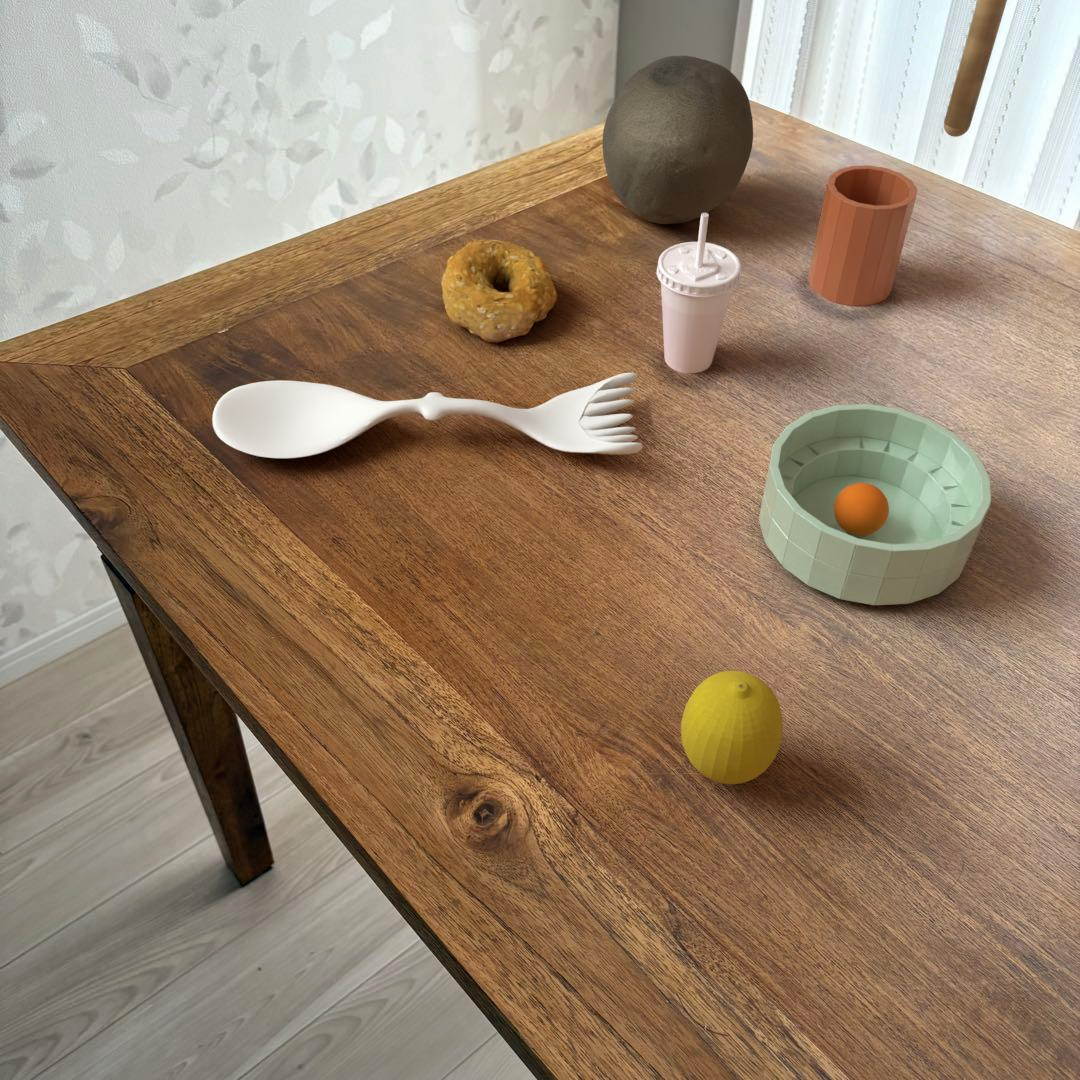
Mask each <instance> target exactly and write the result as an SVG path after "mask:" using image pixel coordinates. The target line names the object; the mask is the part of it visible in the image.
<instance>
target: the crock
mask: <svg viewBox="0 0 1080 1080" xmlns="http://www.w3.org/2000/svg"><path fill="white" fill-rule="evenodd" d="M917 194H918V188H917V187H916V185H915V183H914V181H913V180H911V178H909V177H907V176H906V175H905V174H903V173H901V172H898V171H895V170H893V169H891V168H887V167H882V166H875V165H868V164H866V165H865V164H864V165H850V166H846V167H843V168H840V169H839V168H838V169H837V170H835V171H834V172H833V173H831V174H830V175H829V176H828V180H827V183H826V186H825V192H824V196H823V200H822V201H823V202H822V206H821V207H822V208H821V213H820V216H819V220H818V221H819V222H818V227H817V231H816V236H815V241H814V246H813V251H812V256H811V260H810V261H811V262H810V266H809V270H808V277H807V280H808V285H809V286H810V288H811V290H812V291H813V292H814V293H815V294H817V295H818V296H819V297H821V298H822V299H824V300H826V301H828V302H831V303H833V304H838V305H841V306H847V307H848V306H849V307H868V306H873V305H877V304H880V303H881V302H882V301H885V300H886V299H887V298H888V297H889V296H890V294H891V293H892V289H893V285H894V282H895V278H896V275H897V271H898V267H899V263H900V259H901V256H902V252H903V248H904V244H905V241H906V237H907V233H908V228H909V225H910V222H911V217H912V214H913V211H914V207H915V203H916V200H917Z"/></svg>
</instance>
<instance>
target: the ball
mask: <svg viewBox="0 0 1080 1080" xmlns="http://www.w3.org/2000/svg"><path fill="white" fill-rule="evenodd" d="M888 513H889V505H888V501H887V498H886V496H885V495H884V493H883V492H882V491H881V490H880V489H879V488H877V487H875V486H873V485H871V484H867V483H856V484H852V485H850V486H848V487H846V488H845V489H843V490H842V491H841V492H840V494H839V495H838V497H837V498H836V501H835V504H834V515H835V518H836V520H837V522H838V524H839V525H840V527H841V528H842V529H844V530H845V531H846V532H848V533H850V534H853V535H858V536H864V535H869V534H872V533H874V532H876V531H877V530H879V529H880V528H881V527H882V526H883V525H884V523H885V522H886V520H887V517H888Z"/></svg>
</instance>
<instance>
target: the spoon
mask: <svg viewBox="0 0 1080 1080" xmlns="http://www.w3.org/2000/svg"><path fill="white" fill-rule="evenodd" d="M638 378H639V375H638V374H637V373H635V372H624V373H623V372H622V373H619V374H616V375H614V376H610V377H608V378H605V379H603V380H600V381H598V382H595V383H593V384H590V385H586V386H584V387H580V388H577V389H573V390H569V391H567V392H564V393H561V394H559V395H557V396H555V397H553V398H551V399H549V400H548V401H547V400H546V402H543V403H542V404H540V405H538V406H535V407H530V408H518V407H511V406H508V405H504V404H500V403H497V402H492V401H488V400H482V399H475V398H454V397H448V396H445V395H443V394H442V393H441V392H438V391H432V392H431V391H430V392H428V393H426V395H425V396H423V397H419V398H413V399H401V400H400V399H399V400H379V399H375V398H372V397H369V396H366V395H363V394H360V393H357V392H355V391H352V390H349V389H346V388H343V387H339V386H335V385H332V384H325V383H319V382H318V383H317V382H308V381H298V380H265V381H257V382H252V383H247V384H244V385H240V386H236V387H235V388H232V389H230V390H229V391H227V392H226V393H224V394H223V395H222V396H221V397H220V398H219V399H218V401H217V402H216V403H215V406H214V409H213V411H212V412H213V413H212V417H211V418H212V420H211V421H212V428H213V431H214V433H215V434H216V436H217V437H218V438H219V439H220V440H221V441H222V442H223V443H225V444H226V445H228V447H231V448H233V449H235V450H237V451H240V452H242V453H245V454H247V455H248V454H249V455H252V456H256V457H261V458H268V459H280V460H281V459H284V460H285V459H286V460H287V459H300V458H307V457H312V456H316V455H320V454H323V453H326V452H329V451H331V450H334V449H336V448H339V447H341V446H342V445H345V444H346V443H348V442H350V441H352V440H353V439H355V438H357V437H359V436H360V435H362V434H363V433H365V432H366V431H367V430H368V431H369V429H371V428H373V427H374V426H376V425H378V424H379V423H382V422H383V421H386V420H388V419H391V418H394V417H398V416H402V415H410V414H417V415H421V416H423V418H424V420H426V421H428V422H436V421H439V420H441V418H443V417H447V416H476V417H477V416H478V417H484V418H488V419H491V420H495V421H498V422H500V423H503V424H505V425H507V426H510V427H511V428H514V429H515V430H518V431H519V432H521V433H523V434H524V435H526V436H528V437H530V438H531V439H533V440H534V441H536V442H537V443H539V444H541V445H543V446H545V447H547V448H549V449H552V450H554V451H558V452H562V453H563V452H564V453H571V454H572V453H573V454H600V455H631V454H635V453H638V452H640V451H641V450H643V447H644V446H643V444H642V443H641V442H635V441H637V440H638V439H639V436H638V435H635V434H631V433H634V431H635V430H636V429H637V428H636V427H635V426H619V425H622V424H625V423H627V422H629V421H630V420H631V419H632V418H633V417H634V415H632V413H631V414H630V413H616V414H613V413H614V412H618V411H620V410H623V409H625V408H627V407H629V406H630V405H632V404H634V402H635V400H633V399H629V398H628V399H627V398H626V399H622V398H625V397H627V396H629V395H631V394H633V393H634V392H635V391H636V389H635V388H634V387H629V386H628V387H624V386H627V385H630V384H632V383H633V384H634V383H635V382H636V381H637V380H638ZM611 413H612V414H611ZM617 426H618V427H617Z"/></svg>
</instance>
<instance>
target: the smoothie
mask: <svg viewBox="0 0 1080 1080" xmlns="http://www.w3.org/2000/svg"><path fill="white" fill-rule="evenodd" d="M699 219H700V220H699V229H698V237H697V241H687V242H681V243H677V244H674V245H671V246H669V247H667V249H665V250H664V251H662V253H660V255H659V257H658V259H657V267H656V276H657V278H658V281H659V282H660V295H661V312H662V313H661V314H662V333H663V334H662V335H663V337H662V338H663V354H664V363H666V365H667V366H668V367H669V368H670V369H672V370H674V371H676V372H679V373H682V374H698V373H702V372H704V371H706V370H708V369H709V368H710V367H711V366H712V363H713V360H714V357H715V354H716V349H717V347H718V343H719V339H720V337H721V332H722V329H723V327H724V322H725V320H726V319H725V318H726V316H727V312H728V308H729V305H730V302H731V299H732V295H733V292H734V289H735V288H737V286H738V285H739V283H740V281H741V278H742V277H741V271H742V263H741V261H740V259H739V257H738V256H737V255H736V254H735V253H733V252H732V251H731V250H729V249H728V248H726V247H724V246H722V245H718V244H715V243H713V242H707V232H708V224H709V213H702V214H701V217H700V218H699Z"/></svg>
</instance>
